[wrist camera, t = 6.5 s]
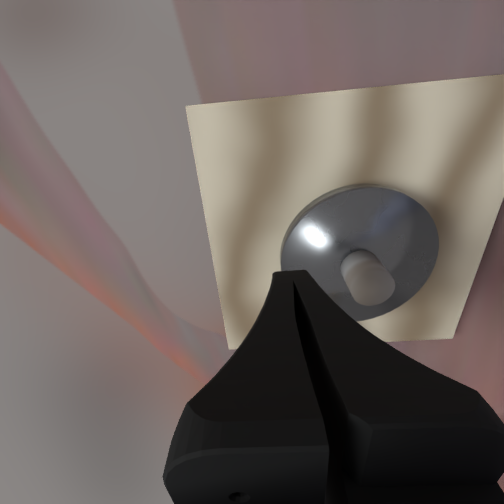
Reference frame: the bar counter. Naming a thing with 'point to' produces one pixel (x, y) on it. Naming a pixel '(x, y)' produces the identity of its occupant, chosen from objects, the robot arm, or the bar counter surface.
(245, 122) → the base
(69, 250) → the bar counter surface
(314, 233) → the flange
